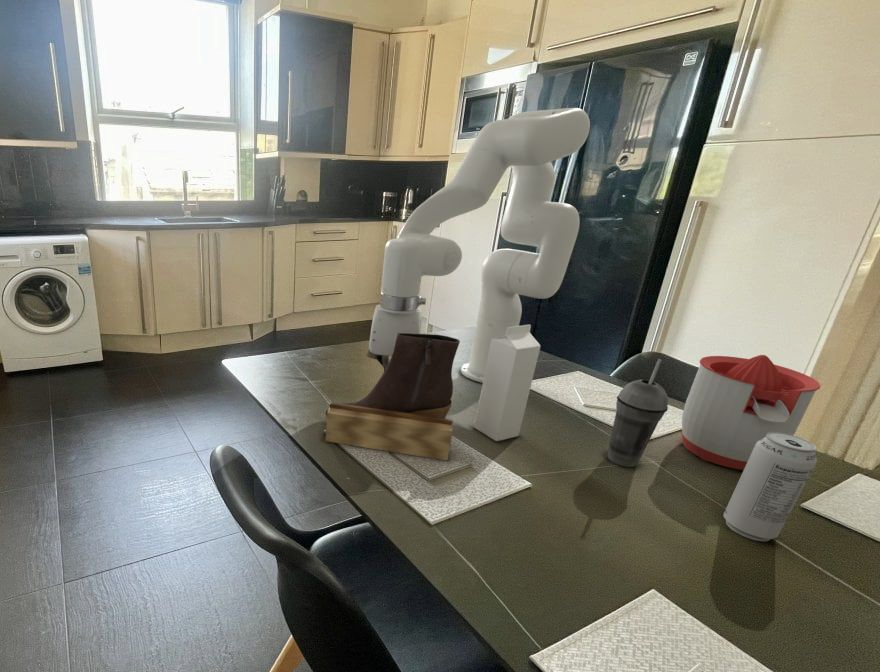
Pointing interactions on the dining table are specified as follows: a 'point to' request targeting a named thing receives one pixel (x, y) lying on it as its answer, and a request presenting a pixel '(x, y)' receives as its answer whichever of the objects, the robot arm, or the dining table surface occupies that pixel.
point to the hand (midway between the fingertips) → (389, 384)
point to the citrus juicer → (742, 406)
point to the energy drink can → (770, 485)
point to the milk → (507, 383)
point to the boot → (415, 377)
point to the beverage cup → (636, 419)
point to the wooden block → (389, 430)
